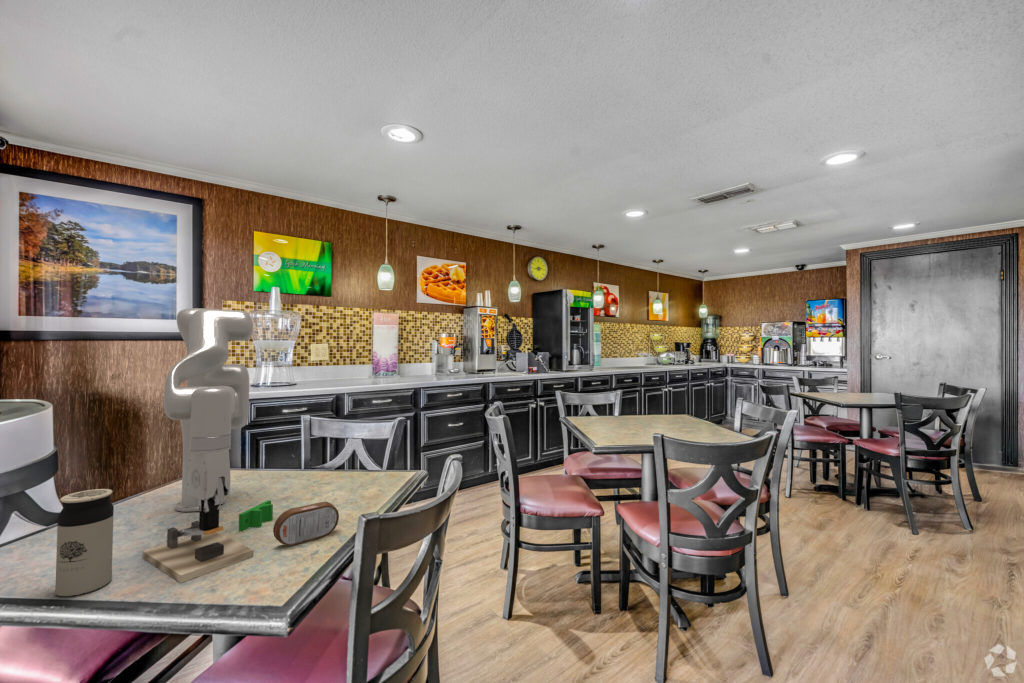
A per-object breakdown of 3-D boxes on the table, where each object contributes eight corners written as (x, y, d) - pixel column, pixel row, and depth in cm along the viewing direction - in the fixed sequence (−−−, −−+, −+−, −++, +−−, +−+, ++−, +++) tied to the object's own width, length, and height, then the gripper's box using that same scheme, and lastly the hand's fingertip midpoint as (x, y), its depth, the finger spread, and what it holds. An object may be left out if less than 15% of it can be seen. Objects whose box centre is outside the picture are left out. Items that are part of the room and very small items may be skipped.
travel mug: (84, 576, 91) (87, 487, 92) (122, 577, 91) (124, 488, 92) (42, 597, 83) (45, 500, 84) (83, 598, 83) (86, 501, 84)
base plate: (142, 557, 100) (142, 532, 100) (211, 536, 111) (212, 514, 112) (180, 583, 89) (181, 555, 89) (253, 556, 101) (253, 531, 101)
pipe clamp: (252, 532, 114) (252, 515, 114) (238, 532, 115) (238, 514, 115) (279, 516, 126) (279, 500, 126) (267, 516, 126) (267, 499, 126)
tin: (335, 530, 116) (335, 497, 116) (340, 533, 114) (340, 500, 114) (272, 547, 105) (272, 511, 106) (276, 551, 103) (277, 515, 103)
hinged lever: (176, 537, 103) (175, 531, 103) (190, 533, 106) (190, 527, 106) (208, 536, 95) (207, 529, 95) (223, 531, 97) (222, 524, 97)
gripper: (176, 443, 99) (173, 528, 98) (207, 449, 91) (205, 541, 90) (213, 439, 106) (211, 518, 105) (246, 443, 98) (244, 529, 96)
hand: (209, 528), depth 97 cm, fingers closed
